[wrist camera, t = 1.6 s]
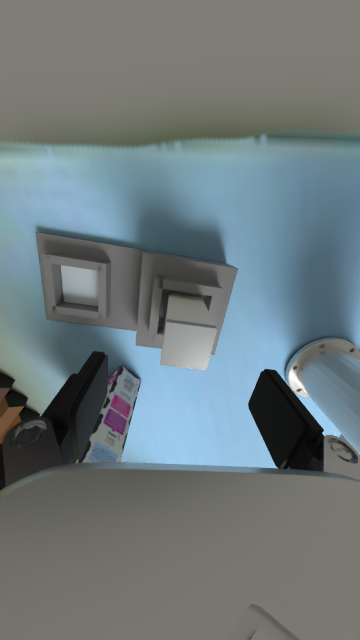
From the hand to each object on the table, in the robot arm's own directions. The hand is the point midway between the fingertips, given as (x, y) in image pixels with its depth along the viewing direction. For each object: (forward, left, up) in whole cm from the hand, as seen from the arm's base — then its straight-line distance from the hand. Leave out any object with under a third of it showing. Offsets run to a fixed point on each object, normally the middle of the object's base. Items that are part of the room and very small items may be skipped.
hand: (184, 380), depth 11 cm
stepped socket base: (+6, 0, -18) cm, 19 cm away
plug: (-1, 0, -13) cm, 13 cm away
